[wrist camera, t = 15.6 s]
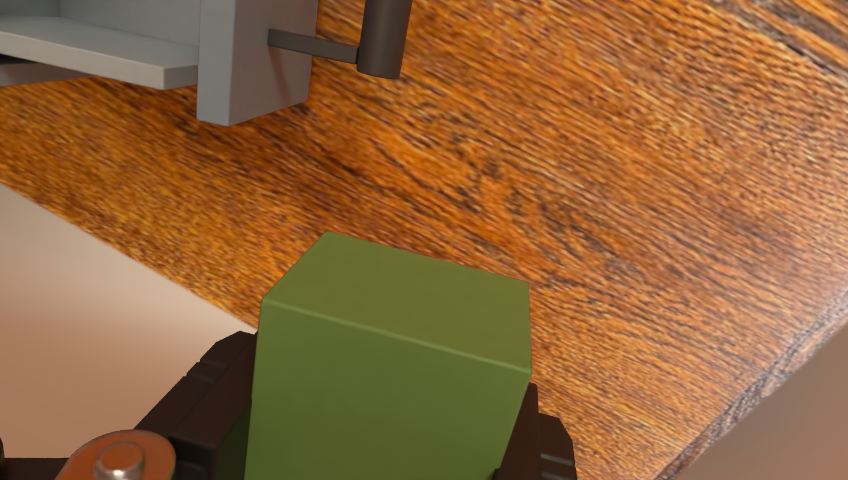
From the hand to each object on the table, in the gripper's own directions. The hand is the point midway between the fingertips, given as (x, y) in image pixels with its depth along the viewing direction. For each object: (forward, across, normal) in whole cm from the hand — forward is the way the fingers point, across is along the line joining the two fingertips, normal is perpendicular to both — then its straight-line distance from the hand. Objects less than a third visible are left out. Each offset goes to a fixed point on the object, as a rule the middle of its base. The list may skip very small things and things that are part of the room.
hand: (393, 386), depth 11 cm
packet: (0, 0, 0) cm, 0 cm away
